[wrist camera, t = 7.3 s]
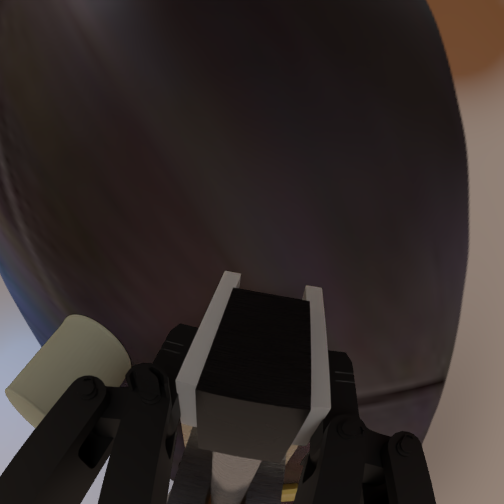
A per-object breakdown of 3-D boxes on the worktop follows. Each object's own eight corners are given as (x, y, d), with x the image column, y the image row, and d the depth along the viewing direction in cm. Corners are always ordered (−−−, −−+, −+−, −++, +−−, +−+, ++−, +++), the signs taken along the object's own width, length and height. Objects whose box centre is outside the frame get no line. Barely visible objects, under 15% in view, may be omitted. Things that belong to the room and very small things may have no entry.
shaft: (233, 287, 11) (195, 389, 7) (309, 300, 11) (310, 410, 6) (214, 484, 23) (205, 521, 19) (241, 489, 23) (234, 526, 18)
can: (140, 385, 28) (96, 470, 17) (78, 364, 29) (31, 432, 18) (120, 325, 24) (51, 423, 13) (53, 305, 25) (-13, 377, 14)
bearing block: (177, 349, 24) (113, 486, 11) (333, 377, 23) (334, 528, 10) (188, 455, 36) (165, 527, 23) (277, 472, 34) (265, 547, 22)
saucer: (278, 493, 42) (277, 502, 40) (256, 482, 39) (254, 492, 37) (318, 489, 39) (318, 498, 37) (299, 478, 36) (298, 488, 34)
